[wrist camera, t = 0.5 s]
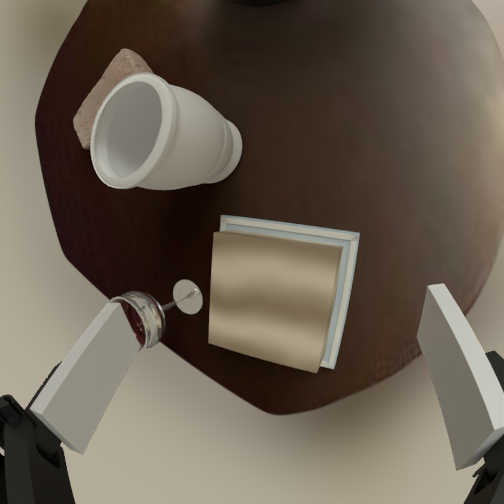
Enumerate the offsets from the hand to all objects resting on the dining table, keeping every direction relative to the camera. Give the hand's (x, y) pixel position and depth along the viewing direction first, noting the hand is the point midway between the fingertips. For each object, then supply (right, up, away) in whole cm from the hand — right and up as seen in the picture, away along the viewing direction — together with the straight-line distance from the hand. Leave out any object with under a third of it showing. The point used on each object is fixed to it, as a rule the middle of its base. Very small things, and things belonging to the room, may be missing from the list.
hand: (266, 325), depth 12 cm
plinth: (+3, -2, +23) cm, 23 cm away
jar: (-5, +16, +24) cm, 29 cm away
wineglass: (-9, -3, +29) cm, 30 cm away
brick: (-22, +27, +30) cm, 46 cm away
